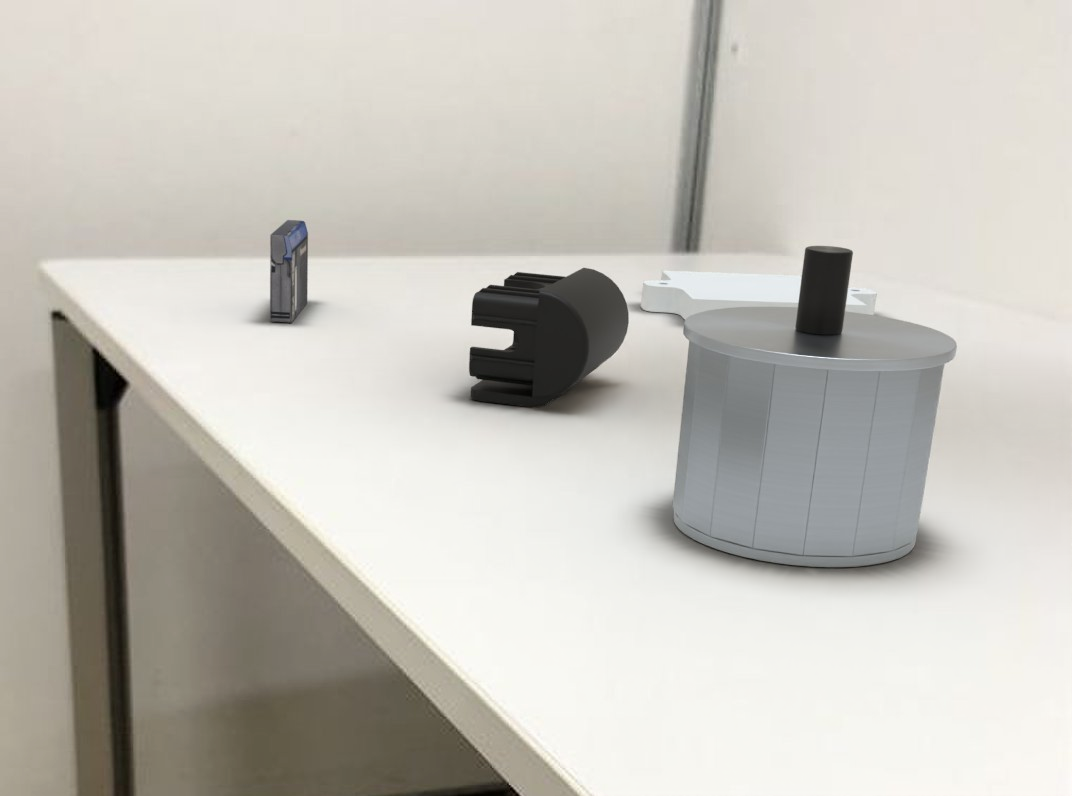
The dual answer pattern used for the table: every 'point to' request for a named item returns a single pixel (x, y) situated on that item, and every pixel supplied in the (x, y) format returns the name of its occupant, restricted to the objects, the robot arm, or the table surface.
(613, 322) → the end cap
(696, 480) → the pot
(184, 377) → the table surface
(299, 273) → the mini dv tape
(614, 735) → the table surface
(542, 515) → the table surface
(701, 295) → the mounting plate
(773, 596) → the table surface
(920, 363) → the pot lid
